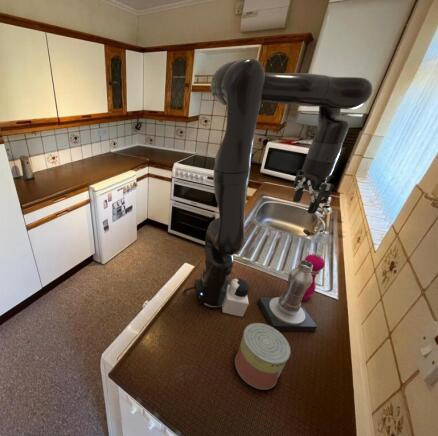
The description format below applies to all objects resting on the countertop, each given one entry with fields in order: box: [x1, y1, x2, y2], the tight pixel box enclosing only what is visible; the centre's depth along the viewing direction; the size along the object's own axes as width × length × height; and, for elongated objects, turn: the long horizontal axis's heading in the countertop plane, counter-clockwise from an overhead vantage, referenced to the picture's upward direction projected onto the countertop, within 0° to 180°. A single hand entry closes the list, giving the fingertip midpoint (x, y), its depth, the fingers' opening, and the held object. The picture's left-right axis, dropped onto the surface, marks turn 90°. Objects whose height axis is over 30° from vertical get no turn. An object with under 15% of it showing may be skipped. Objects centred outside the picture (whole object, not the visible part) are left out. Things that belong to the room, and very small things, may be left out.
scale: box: [257, 296, 318, 332], centre depth 83 cm, size 14×12×3 cm
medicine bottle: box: [221, 277, 251, 317], centre depth 84 cm, size 7×7×12 cm
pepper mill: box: [302, 252, 326, 301], centre depth 87 cm, size 7×7×20 cm
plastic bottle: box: [278, 259, 313, 315], centre depth 77 cm, size 6×7×20 cm
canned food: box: [234, 322, 292, 391], centre depth 65 cm, size 11×11×12 cm
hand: (303, 207), depth 77 cm, fingers open, 8 cm apart
